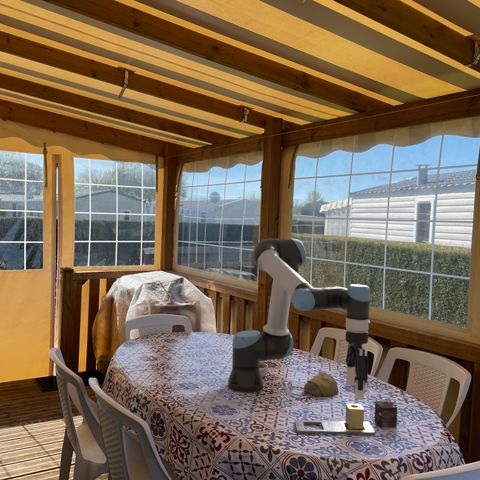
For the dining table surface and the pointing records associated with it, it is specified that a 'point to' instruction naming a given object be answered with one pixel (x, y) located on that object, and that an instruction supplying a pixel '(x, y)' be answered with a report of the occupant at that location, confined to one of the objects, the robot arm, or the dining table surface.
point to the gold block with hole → (354, 417)
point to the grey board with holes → (333, 428)
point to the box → (385, 414)
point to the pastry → (321, 385)
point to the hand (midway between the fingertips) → (354, 392)
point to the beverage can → (366, 367)
